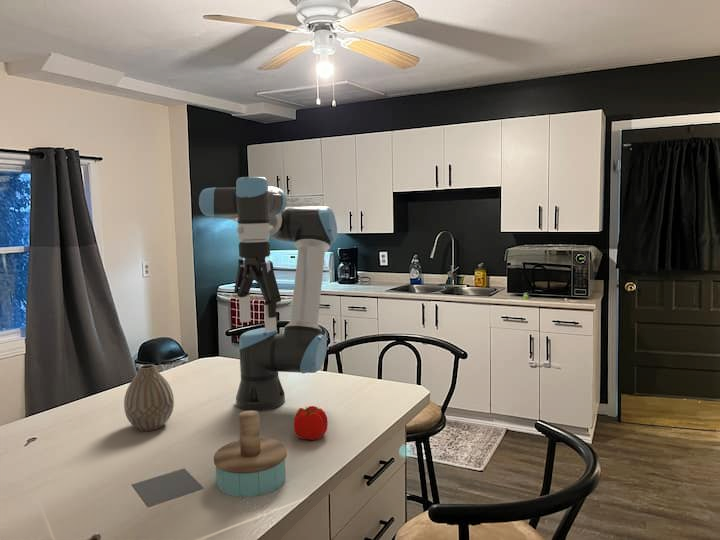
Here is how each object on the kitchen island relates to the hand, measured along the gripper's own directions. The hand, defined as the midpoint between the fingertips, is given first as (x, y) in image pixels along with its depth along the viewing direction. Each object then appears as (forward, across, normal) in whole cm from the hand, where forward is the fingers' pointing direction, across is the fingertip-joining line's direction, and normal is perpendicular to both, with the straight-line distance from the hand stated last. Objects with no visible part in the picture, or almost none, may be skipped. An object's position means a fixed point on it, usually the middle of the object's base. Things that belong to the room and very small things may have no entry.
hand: (257, 326), depth 139 cm
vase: (+32, -33, -18) cm, 49 cm away
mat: (+32, +5, -26) cm, 41 cm away
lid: (+26, +14, -10) cm, 31 cm away
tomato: (+32, +2, +13) cm, 35 cm away
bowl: (+32, +14, -10) cm, 36 cm away
